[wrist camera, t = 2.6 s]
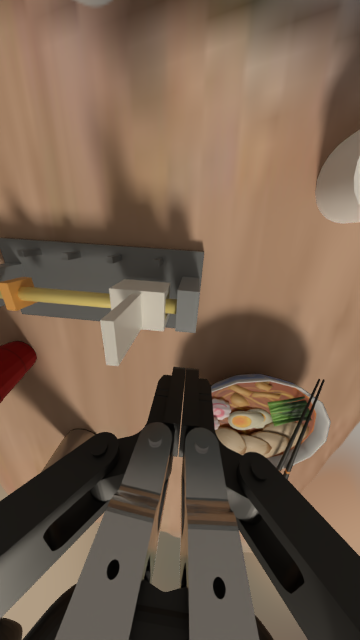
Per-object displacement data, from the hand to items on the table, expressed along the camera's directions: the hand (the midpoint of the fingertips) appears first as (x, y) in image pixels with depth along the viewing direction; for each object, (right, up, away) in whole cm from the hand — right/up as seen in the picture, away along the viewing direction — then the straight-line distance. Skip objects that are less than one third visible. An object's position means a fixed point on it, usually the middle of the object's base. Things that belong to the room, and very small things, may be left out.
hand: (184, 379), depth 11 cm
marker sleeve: (-5, +7, +13) cm, 16 cm away
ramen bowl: (+12, -12, +26) cm, 31 cm away
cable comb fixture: (-12, +9, +18) cm, 24 cm away
